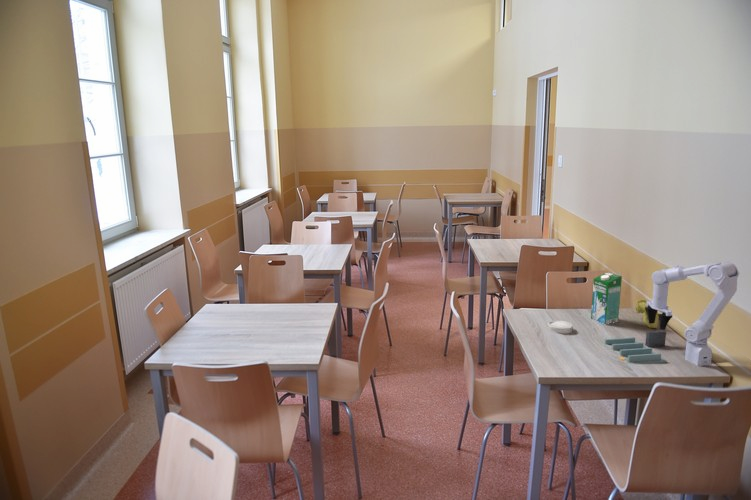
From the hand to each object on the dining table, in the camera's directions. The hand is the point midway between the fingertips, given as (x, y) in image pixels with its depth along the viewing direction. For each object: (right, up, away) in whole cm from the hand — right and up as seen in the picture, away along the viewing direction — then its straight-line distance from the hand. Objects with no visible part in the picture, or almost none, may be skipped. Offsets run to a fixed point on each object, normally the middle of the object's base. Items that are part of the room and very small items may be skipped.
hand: (656, 326), depth 232 cm
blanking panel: (0, -9, +2) cm, 10 cm away
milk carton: (-10, -3, +32) cm, 33 cm away
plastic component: (+10, -3, +32) cm, 33 cm away
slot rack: (-14, -11, -5) cm, 19 cm away
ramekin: (-37, -7, +18) cm, 41 cm away
